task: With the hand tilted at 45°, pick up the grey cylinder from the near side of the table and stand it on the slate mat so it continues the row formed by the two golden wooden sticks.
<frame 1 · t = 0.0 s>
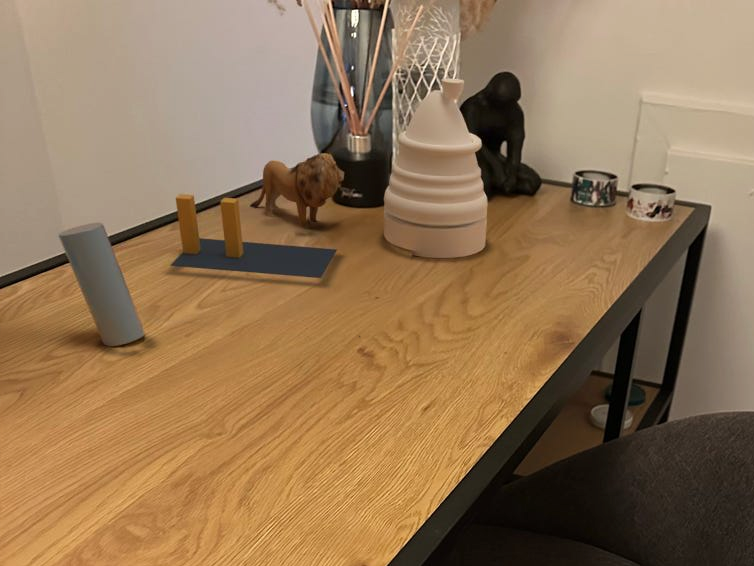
lion figurine: (298, 224, 121), on the table
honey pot: (434, 242, 119), on the table
grey cylinder: (124, 338, 89), on the table, tilted 14°
mat: (256, 262, 109), on the table
fry near: (234, 255, 108), resting on mat
fry far: (192, 251, 108), resting on mat
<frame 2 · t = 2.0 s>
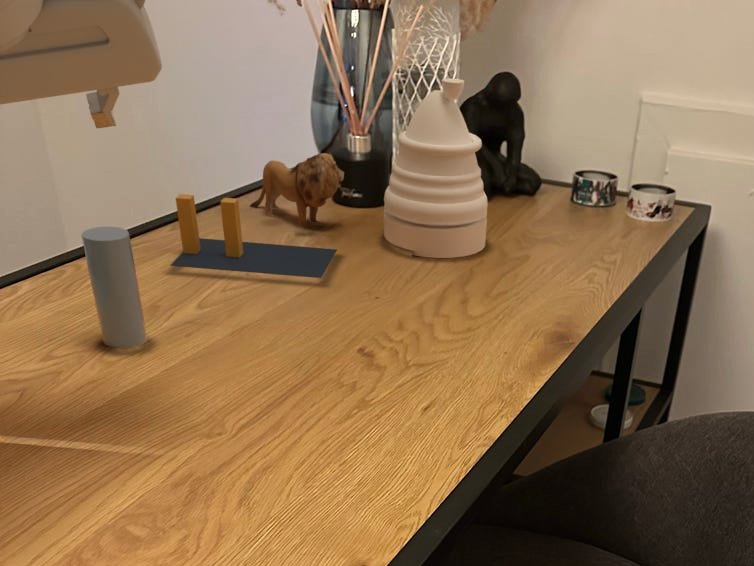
hand: (41, 129, 70), 20 cm above the table, tool tilted 40°, fingers open, 8 cm apart
grey cylinder: (125, 342, 89), on the table
everything else where it was.
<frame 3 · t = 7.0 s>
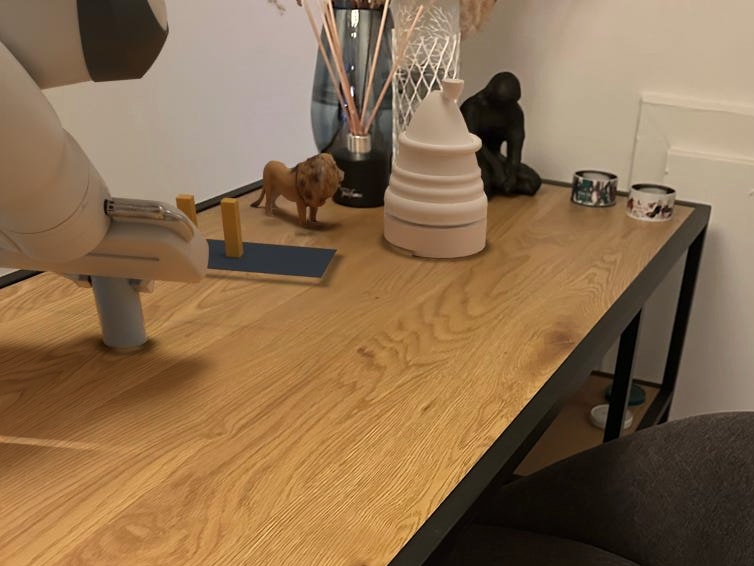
hand: (117, 282, 87), 5 cm above the table, tool tilted 45°, fingers closed on grey cylinder, 4 cm apart
grey cylinder: (125, 342, 89), on the table, touching gripper
everything else where it was.
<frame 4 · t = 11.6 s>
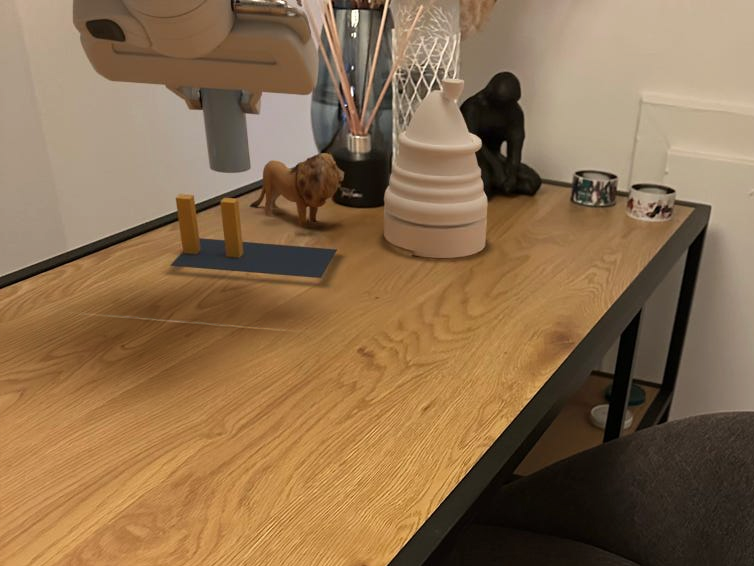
hand: (225, 105, 91), 18 cm above the table, tool tilted 45°, fingers closed on grey cylinder, 4 cm apart
grey cylinder: (230, 167, 94), point 12 cm above the table, touching gripper
everything else where it was.
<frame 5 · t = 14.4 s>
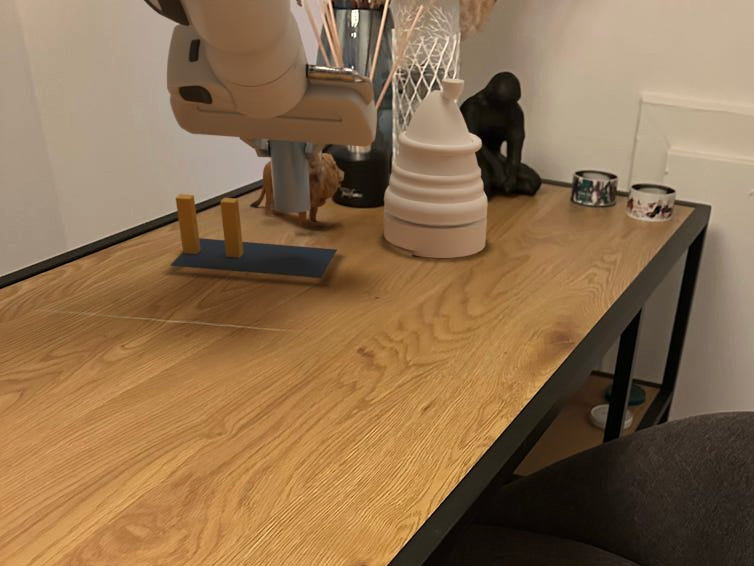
hand: (290, 153, 102), 12 cm above the table, tool tilted 45°, fingers closed on grey cylinder, 4 cm apart
grey cylinder: (292, 207, 104), point 6 cm above the table, touching gripper
everything else where it was.
when the fingers open (6 cm above the table, at t = 16.4 s): grey cylinder stays where it is, resting on mat.
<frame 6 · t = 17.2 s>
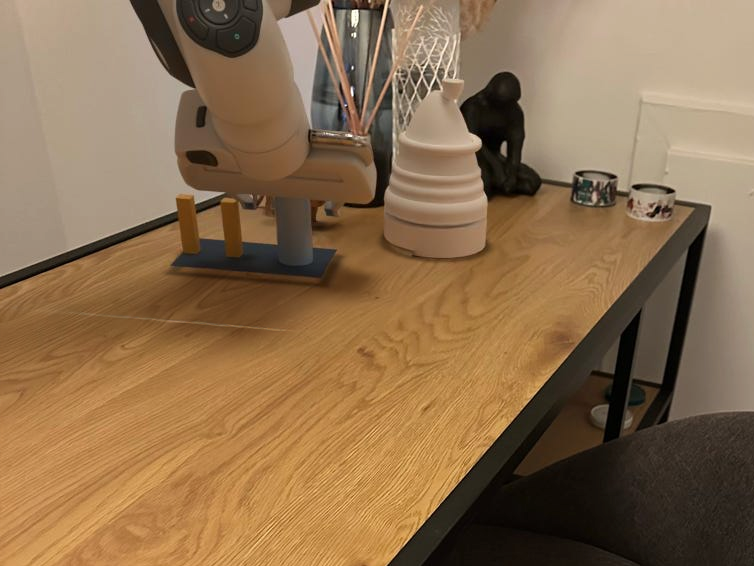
hand: (292, 207, 105), 6 cm above the table, tool tilted 45°, fingers open, 8 cm apart
grey cylinder: (295, 260, 108), point 1 cm above the table, touching mat
everything else where it was.
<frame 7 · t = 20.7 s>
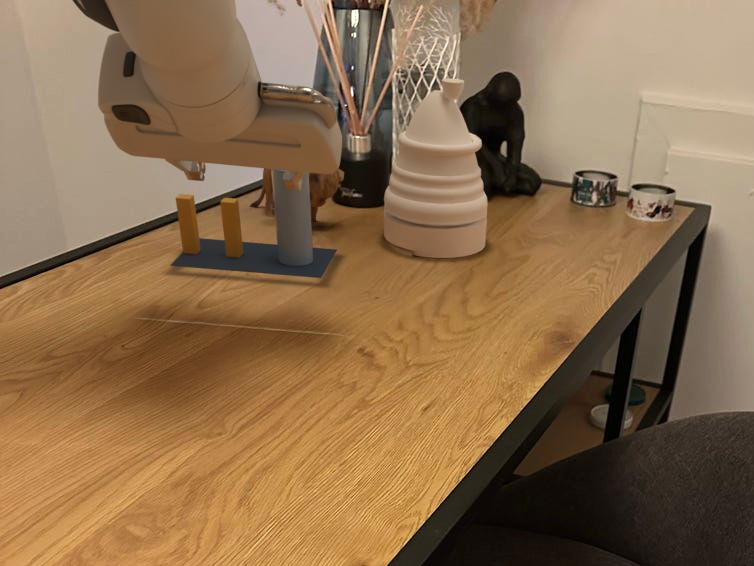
hand: (246, 178, 91), 12 cm above the table, tool tilted 45°, fingers open, 8 cm apart
nothing on the table moved.
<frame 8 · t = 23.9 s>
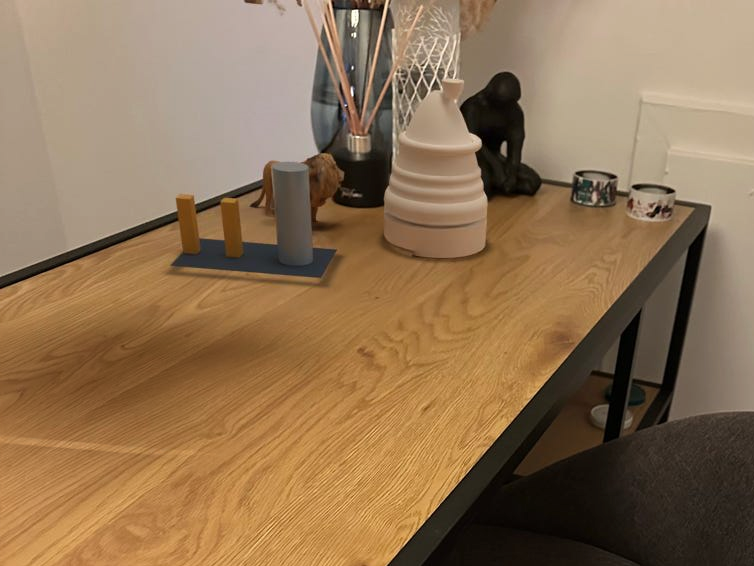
nothing on the table moved.
at the end: grey cylinder 0.1 cm from the target spot on the mat, point 0.6 cm above the mat's base; grey cylinder tilted 0°; the gripper is holding nothing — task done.
